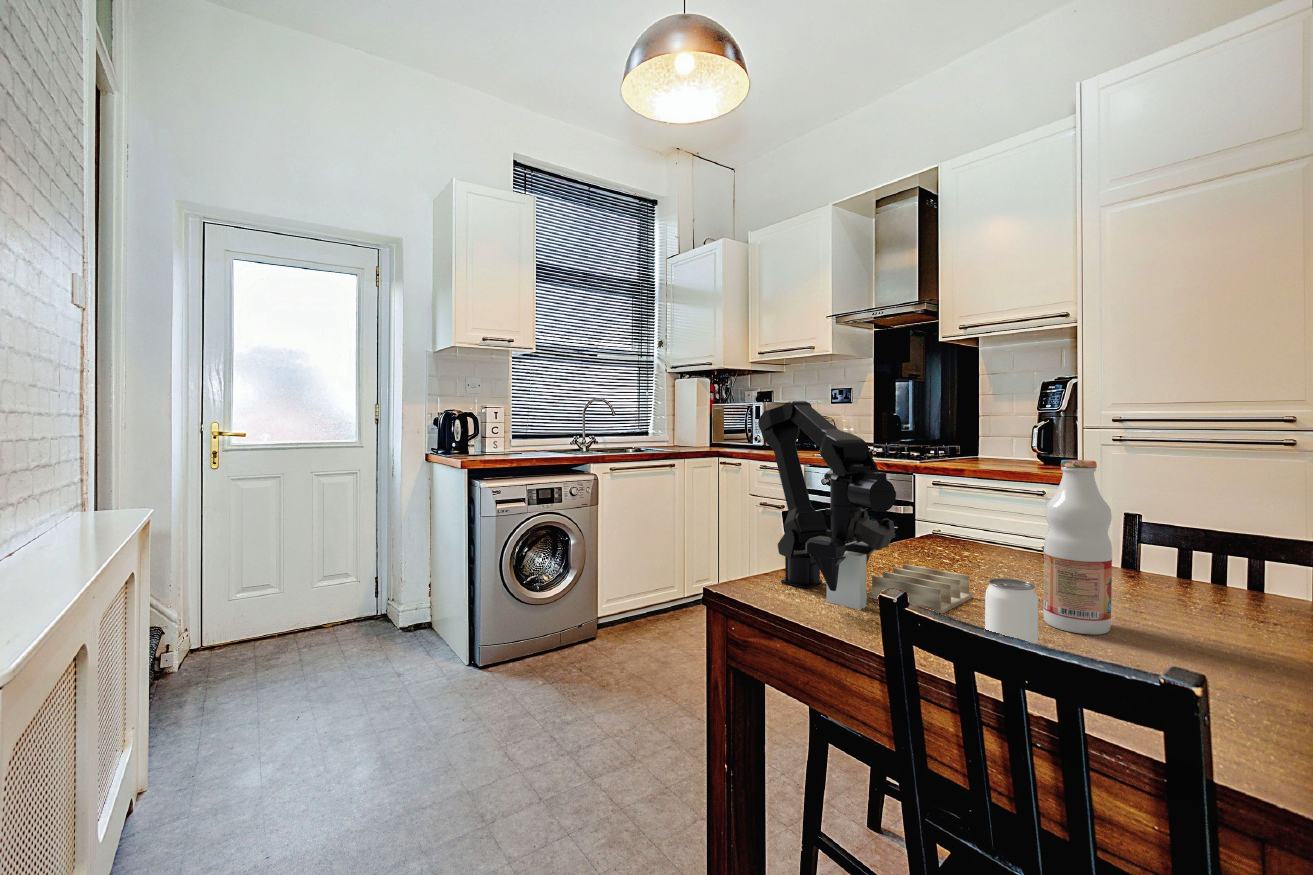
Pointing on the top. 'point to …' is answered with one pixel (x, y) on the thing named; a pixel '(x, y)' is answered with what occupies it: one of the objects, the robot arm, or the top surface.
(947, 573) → the rack
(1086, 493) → the fruit juice
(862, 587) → the grey upright domino
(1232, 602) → the top surface
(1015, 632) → the can
